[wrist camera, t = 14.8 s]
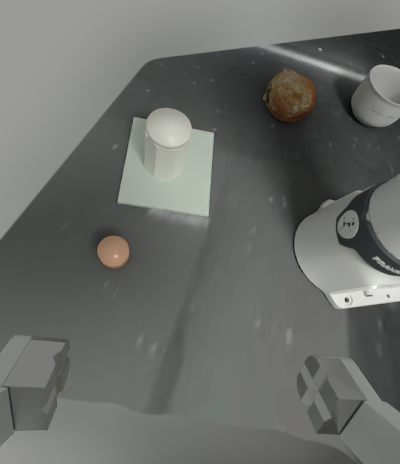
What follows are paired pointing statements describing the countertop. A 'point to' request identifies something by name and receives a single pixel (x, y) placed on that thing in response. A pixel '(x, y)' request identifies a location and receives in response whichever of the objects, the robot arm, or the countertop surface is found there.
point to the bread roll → (290, 96)
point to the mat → (176, 190)
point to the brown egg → (113, 252)
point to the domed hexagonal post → (166, 143)
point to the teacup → (378, 97)
